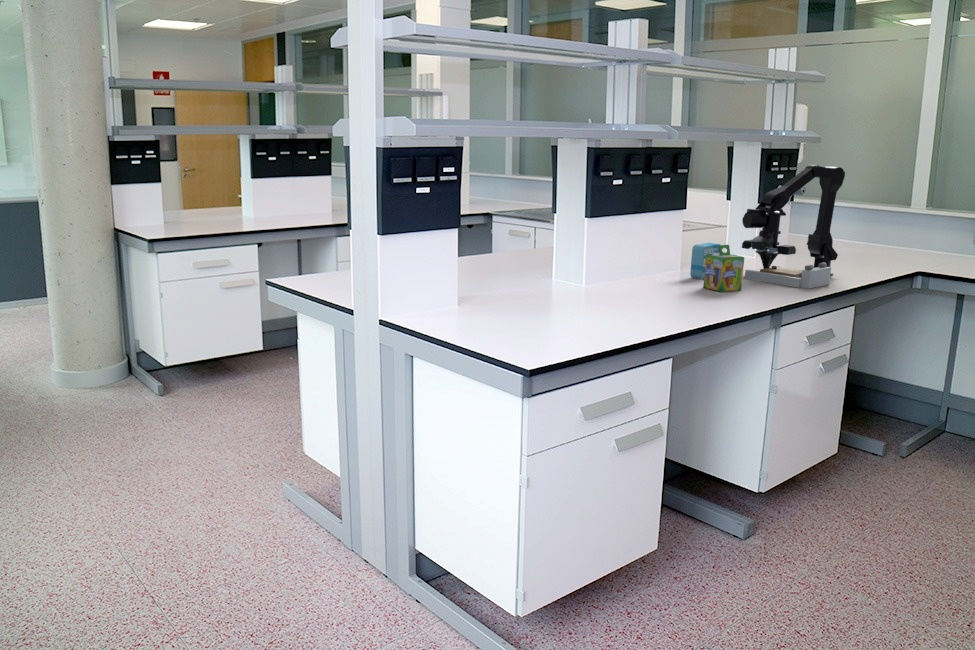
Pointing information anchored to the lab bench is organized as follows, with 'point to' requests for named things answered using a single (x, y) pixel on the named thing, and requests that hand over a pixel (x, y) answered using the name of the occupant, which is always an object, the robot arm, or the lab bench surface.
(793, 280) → the guide rail
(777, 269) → the door panel
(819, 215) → the robot arm
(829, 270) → the block
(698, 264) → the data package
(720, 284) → the chalk box
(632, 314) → the lab bench surface
